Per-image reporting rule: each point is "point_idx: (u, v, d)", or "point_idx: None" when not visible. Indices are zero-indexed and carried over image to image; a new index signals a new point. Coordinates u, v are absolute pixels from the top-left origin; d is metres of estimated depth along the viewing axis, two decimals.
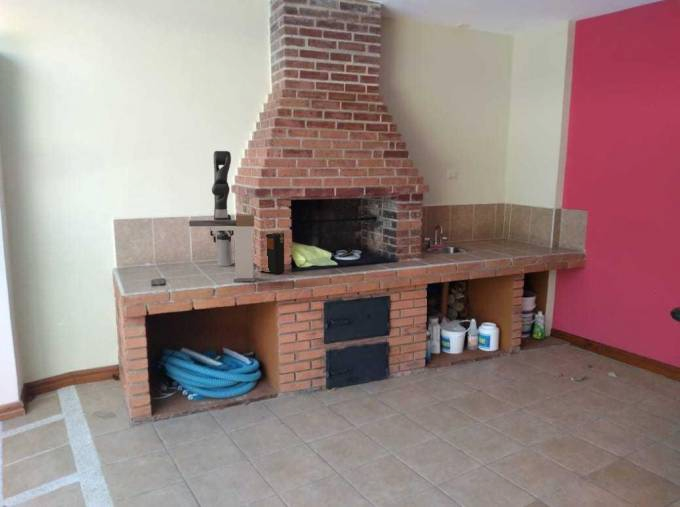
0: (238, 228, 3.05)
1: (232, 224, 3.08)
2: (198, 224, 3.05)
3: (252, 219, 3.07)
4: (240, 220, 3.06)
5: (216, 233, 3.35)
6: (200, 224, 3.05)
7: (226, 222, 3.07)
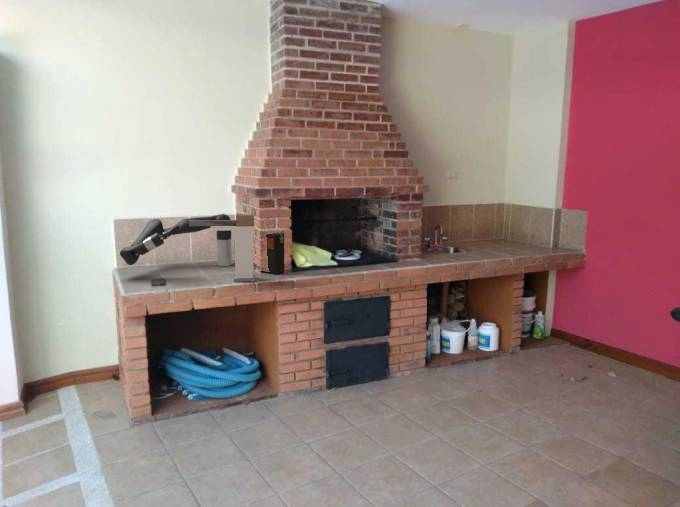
0: (238, 228, 3.05)
1: (232, 224, 3.08)
2: (198, 224, 3.05)
3: (252, 219, 3.07)
4: (240, 220, 3.06)
5: (166, 231, 3.13)
6: (200, 224, 3.05)
7: (226, 222, 3.07)
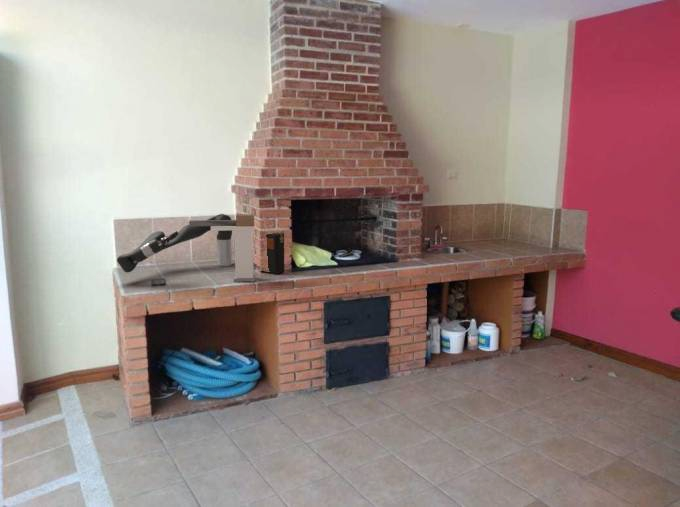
0: (238, 228, 3.05)
1: (232, 224, 3.08)
2: (198, 224, 3.05)
3: (252, 219, 3.07)
4: (240, 220, 3.06)
5: (165, 237, 3.02)
6: (200, 224, 3.05)
7: (226, 222, 3.07)
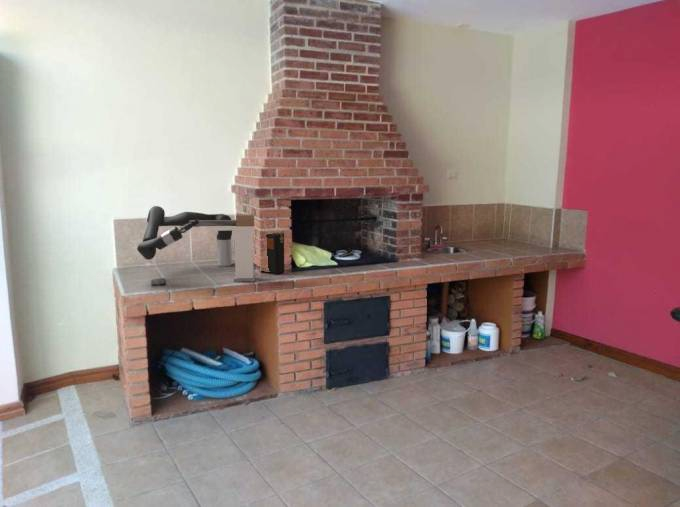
0: (238, 228, 3.05)
1: (232, 224, 3.08)
2: (198, 224, 3.05)
3: (252, 219, 3.07)
4: (240, 220, 3.06)
5: (186, 224, 3.04)
6: (200, 224, 3.05)
7: (226, 222, 3.07)
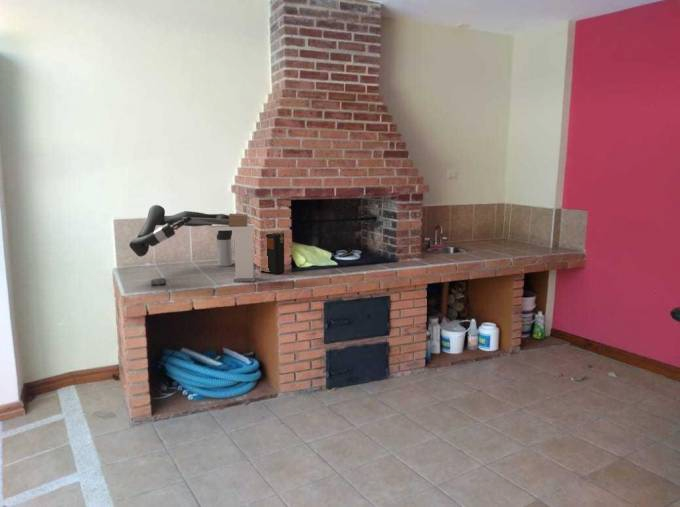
0: (238, 228, 3.05)
1: (225, 223, 3.07)
2: (191, 221, 3.04)
3: (245, 219, 3.06)
4: (233, 219, 3.05)
5: (179, 220, 3.03)
6: (193, 221, 3.04)
7: (219, 221, 3.06)
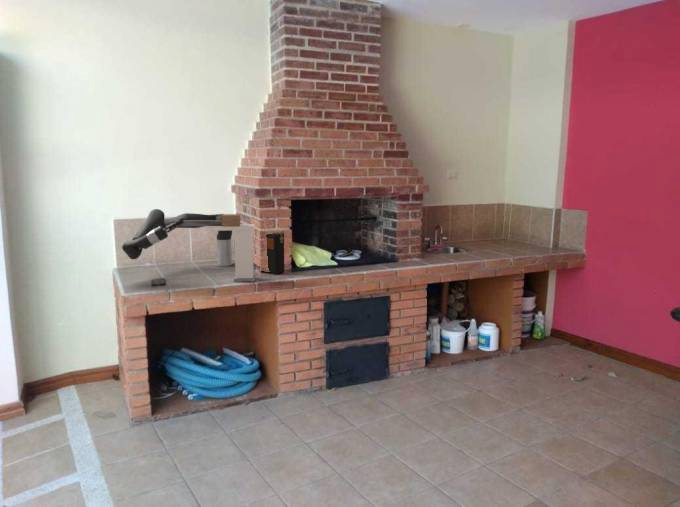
0: (238, 228, 3.05)
1: (218, 224, 3.07)
2: (183, 224, 3.04)
3: (238, 219, 3.06)
4: (225, 220, 3.05)
5: (171, 223, 3.02)
6: (185, 224, 3.04)
7: (212, 222, 3.06)
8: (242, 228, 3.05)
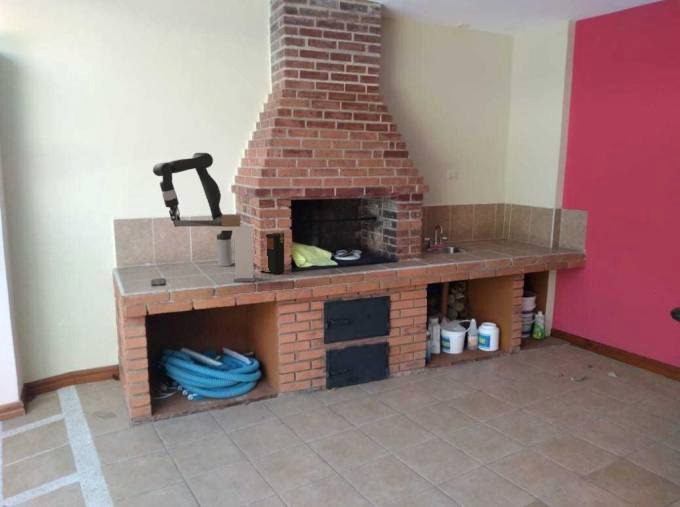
0: (238, 228, 3.05)
1: (218, 224, 3.07)
2: (183, 224, 3.04)
3: (238, 219, 3.06)
4: (225, 220, 3.05)
5: (177, 215, 3.10)
6: (185, 224, 3.04)
7: (212, 222, 3.06)
8: (242, 228, 3.05)
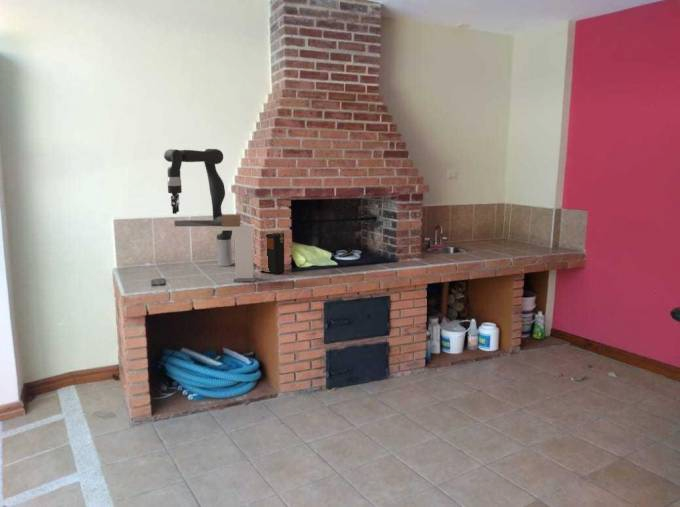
0: (238, 228, 3.05)
1: (218, 224, 3.07)
2: (183, 224, 3.04)
3: (238, 219, 3.06)
4: (225, 220, 3.05)
5: (177, 203, 3.11)
6: (185, 224, 3.04)
7: (212, 222, 3.06)
8: (242, 228, 3.05)
